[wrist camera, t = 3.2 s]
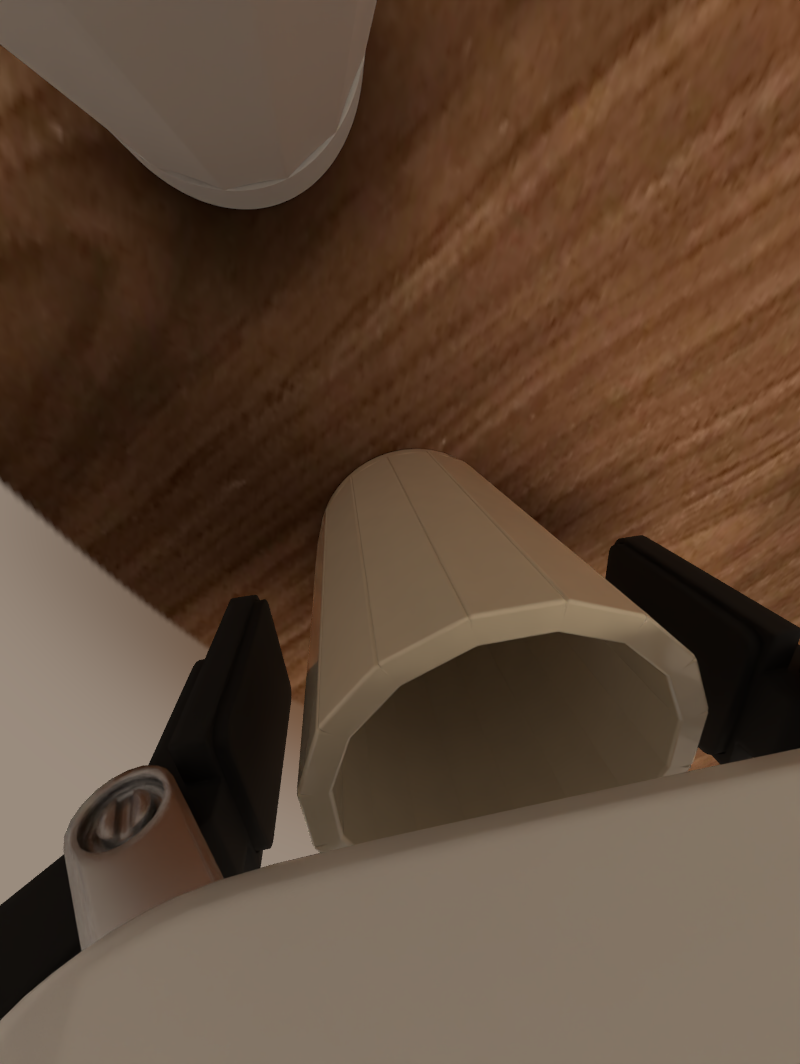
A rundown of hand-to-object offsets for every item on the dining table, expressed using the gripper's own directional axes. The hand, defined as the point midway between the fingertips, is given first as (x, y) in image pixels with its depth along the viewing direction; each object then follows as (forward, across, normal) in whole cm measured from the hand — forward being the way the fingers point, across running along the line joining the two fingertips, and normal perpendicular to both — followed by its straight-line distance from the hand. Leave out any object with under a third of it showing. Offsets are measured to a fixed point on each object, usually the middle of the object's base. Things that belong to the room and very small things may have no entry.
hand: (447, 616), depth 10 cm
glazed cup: (+5, 0, 0) cm, 5 cm away
